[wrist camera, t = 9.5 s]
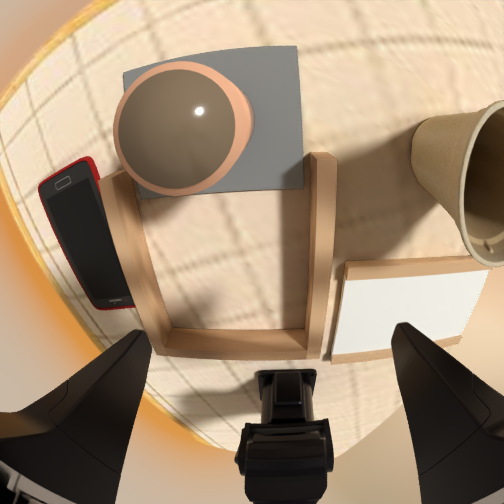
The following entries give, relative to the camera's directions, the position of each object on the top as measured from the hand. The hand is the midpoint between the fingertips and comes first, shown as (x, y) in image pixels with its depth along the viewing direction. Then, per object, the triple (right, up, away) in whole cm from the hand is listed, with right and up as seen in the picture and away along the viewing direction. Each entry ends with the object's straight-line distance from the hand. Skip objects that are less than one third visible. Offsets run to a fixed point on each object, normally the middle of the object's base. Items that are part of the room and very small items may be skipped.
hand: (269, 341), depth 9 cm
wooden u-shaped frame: (-3, +2, +13) cm, 13 cm away
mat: (-3, +12, +8) cm, 14 cm away
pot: (-3, +11, +7) cm, 14 cm away
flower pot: (+14, +10, +7) cm, 19 cm away
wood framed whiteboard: (+16, -3, +14) cm, 21 cm away
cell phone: (-15, +4, +13) cm, 21 cm away
